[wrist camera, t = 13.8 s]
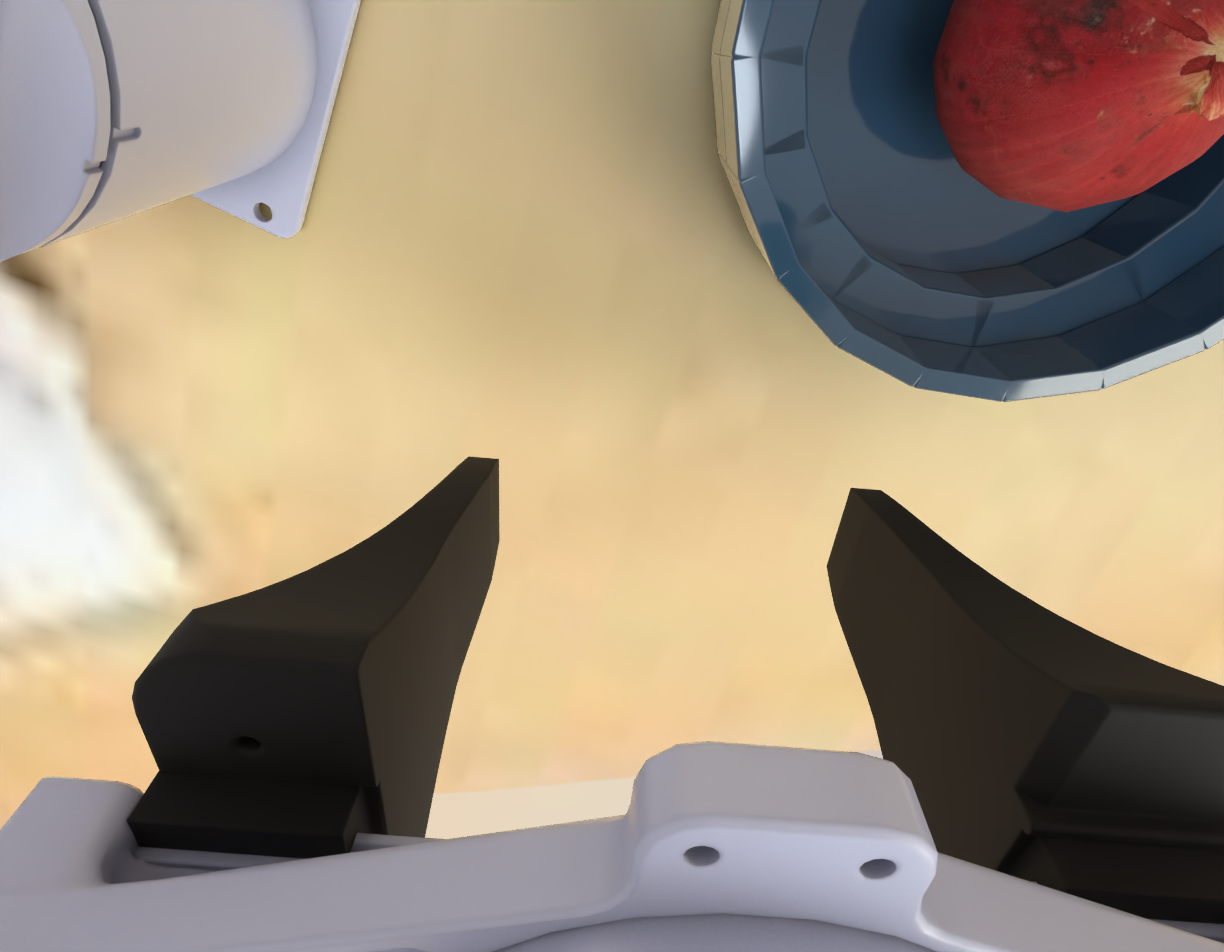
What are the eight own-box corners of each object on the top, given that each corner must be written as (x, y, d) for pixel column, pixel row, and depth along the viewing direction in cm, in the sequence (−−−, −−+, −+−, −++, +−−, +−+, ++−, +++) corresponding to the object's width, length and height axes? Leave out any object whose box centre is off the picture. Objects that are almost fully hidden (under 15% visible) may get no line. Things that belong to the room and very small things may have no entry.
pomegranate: (841, 92, 18) (964, 125, 11) (1021, -159, 15) (1321, -312, 9) (998, 220, 20) (1190, 315, 13) (1186, 11, 17) (1552, -7, 10)
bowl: (613, 185, 20) (607, 226, 16) (981, -586, 13) (1152, -894, 9) (1013, 404, 23) (1098, 486, 19) (1485, -115, 16) (1792, -169, 12)
